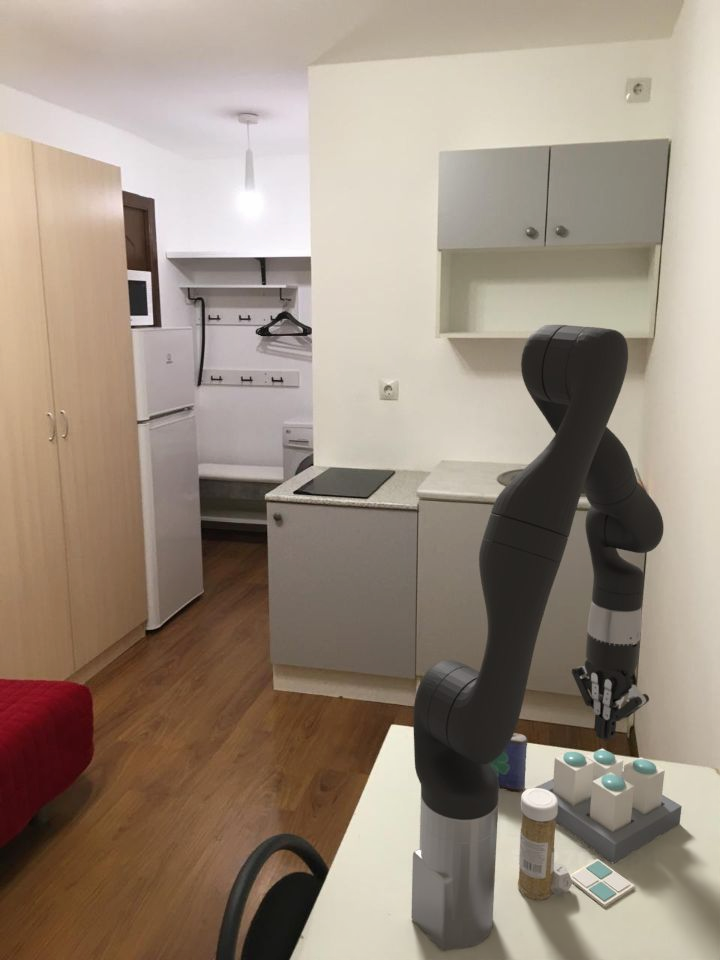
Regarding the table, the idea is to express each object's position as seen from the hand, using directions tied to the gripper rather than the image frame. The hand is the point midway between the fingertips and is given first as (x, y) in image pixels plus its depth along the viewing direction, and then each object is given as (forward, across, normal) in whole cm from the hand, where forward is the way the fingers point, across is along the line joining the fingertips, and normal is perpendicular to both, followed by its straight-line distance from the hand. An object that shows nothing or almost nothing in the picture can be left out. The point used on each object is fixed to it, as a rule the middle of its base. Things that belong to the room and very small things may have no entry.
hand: (604, 737), depth 117 cm
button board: (+10, +4, -3) cm, 11 cm away
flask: (+10, -11, -11) cm, 19 cm away
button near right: (+7, +7, -7) cm, 12 cm away
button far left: (+10, 0, 0) cm, 10 cm away
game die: (+10, +10, -21) cm, 25 cm away
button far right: (+7, +7, 0) cm, 10 cm away
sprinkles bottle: (+10, +8, -23) cm, 27 cm away
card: (+10, +13, -15) cm, 22 cm away
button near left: (+8, 0, -7) cm, 10 cm away
